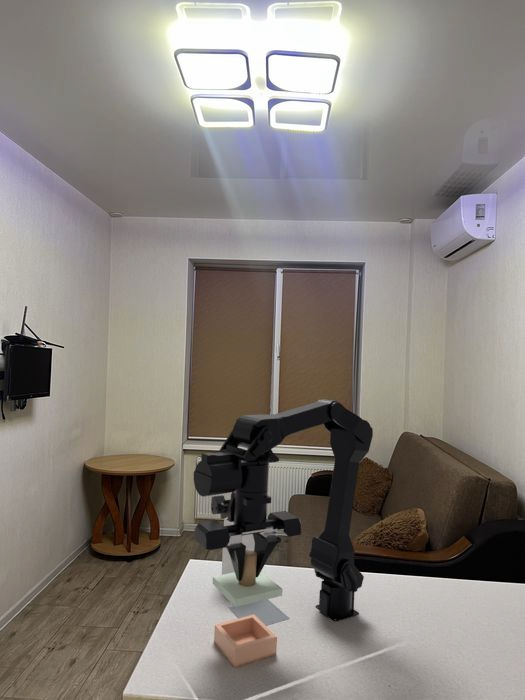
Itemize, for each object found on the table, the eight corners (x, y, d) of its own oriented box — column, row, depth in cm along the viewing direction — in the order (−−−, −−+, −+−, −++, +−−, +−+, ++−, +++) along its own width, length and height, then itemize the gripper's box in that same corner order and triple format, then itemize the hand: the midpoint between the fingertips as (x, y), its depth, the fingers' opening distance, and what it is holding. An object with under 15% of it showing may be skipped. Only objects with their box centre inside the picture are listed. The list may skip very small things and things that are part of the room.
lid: (256, 574, 91) (258, 541, 91) (282, 595, 83) (283, 559, 83) (212, 583, 86) (214, 548, 86) (235, 607, 78) (237, 568, 78)
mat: (266, 600, 102) (266, 597, 102) (289, 621, 94) (290, 618, 94) (228, 609, 97) (228, 607, 97) (249, 632, 90) (249, 629, 90)
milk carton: (256, 577, 113) (260, 495, 113) (252, 591, 106) (256, 504, 106) (226, 574, 113) (230, 493, 114) (220, 588, 106) (224, 502, 107)
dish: (253, 633, 89) (254, 614, 90) (276, 657, 83) (277, 636, 83) (213, 644, 85) (214, 624, 86) (234, 670, 79) (235, 649, 79)
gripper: (273, 474, 96) (269, 552, 96) (184, 482, 87) (180, 569, 87) (305, 488, 87) (301, 575, 86) (209, 498, 77) (205, 597, 77)
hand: (247, 578), depth 84 cm, fingers closed on lid, 3 cm apart
